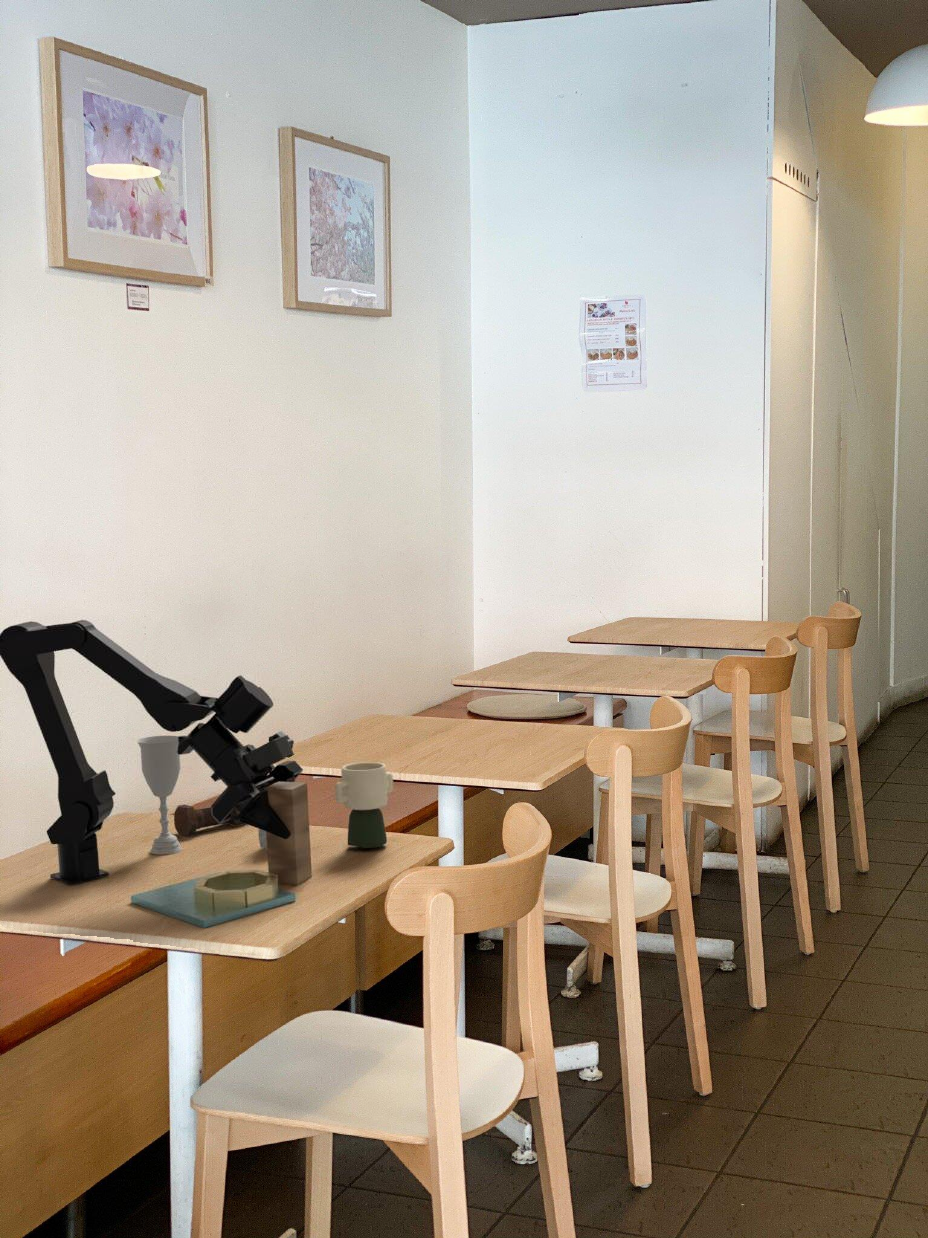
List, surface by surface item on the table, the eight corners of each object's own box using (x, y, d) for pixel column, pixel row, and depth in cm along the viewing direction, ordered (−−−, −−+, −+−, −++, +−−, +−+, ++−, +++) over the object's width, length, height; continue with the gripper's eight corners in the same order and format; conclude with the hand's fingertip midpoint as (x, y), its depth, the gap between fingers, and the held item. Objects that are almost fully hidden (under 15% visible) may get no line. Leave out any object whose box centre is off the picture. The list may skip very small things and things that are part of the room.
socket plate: (131, 902, 194) (129, 881, 194) (220, 878, 205) (219, 858, 204) (204, 928, 181) (202, 905, 181) (295, 900, 192) (294, 879, 192)
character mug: (381, 836, 225) (378, 758, 224) (408, 844, 220) (404, 763, 219) (326, 850, 219) (321, 768, 217) (352, 858, 213) (347, 774, 212)
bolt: (260, 830, 241) (184, 845, 231) (246, 812, 244) (170, 826, 234) (268, 804, 239) (192, 817, 229) (254, 786, 242) (178, 799, 232)
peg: (269, 883, 201) (263, 788, 200) (284, 874, 205) (278, 781, 204) (297, 885, 200) (292, 789, 198) (311, 876, 204) (306, 782, 202)
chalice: (197, 847, 223) (191, 737, 222) (167, 858, 218) (160, 744, 216) (164, 843, 227) (158, 734, 226) (134, 853, 222) (127, 741, 220)
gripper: (224, 729, 193) (300, 810, 190) (287, 707, 210) (357, 781, 207) (179, 783, 196) (252, 863, 194) (245, 757, 214) (313, 831, 211)
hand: (296, 832), depth 201 cm, fingers closed on peg, 5 cm apart
